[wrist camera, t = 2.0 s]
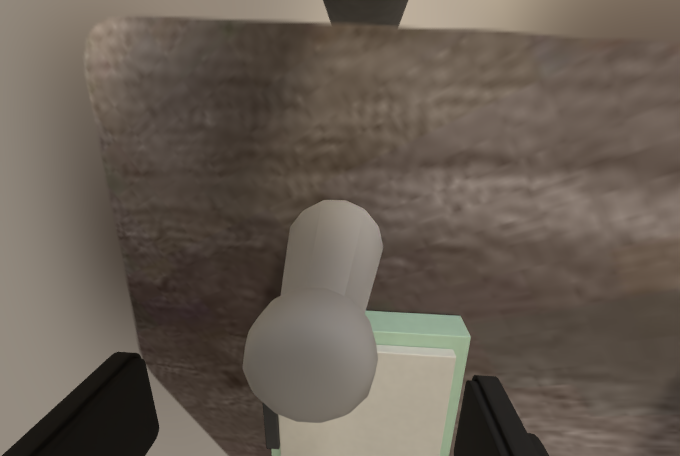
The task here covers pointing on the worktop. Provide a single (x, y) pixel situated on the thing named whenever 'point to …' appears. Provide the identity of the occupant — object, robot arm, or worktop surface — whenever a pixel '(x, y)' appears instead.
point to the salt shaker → (319, 318)
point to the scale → (392, 395)
